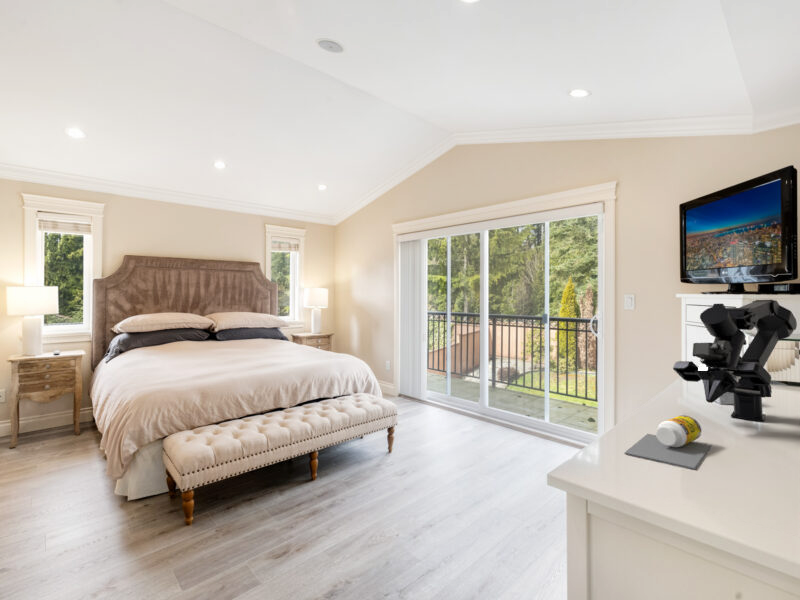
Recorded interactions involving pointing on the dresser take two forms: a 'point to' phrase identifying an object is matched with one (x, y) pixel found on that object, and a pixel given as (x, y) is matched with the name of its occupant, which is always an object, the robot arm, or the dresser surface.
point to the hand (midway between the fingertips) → (708, 401)
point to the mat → (669, 452)
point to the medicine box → (725, 399)
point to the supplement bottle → (678, 431)
